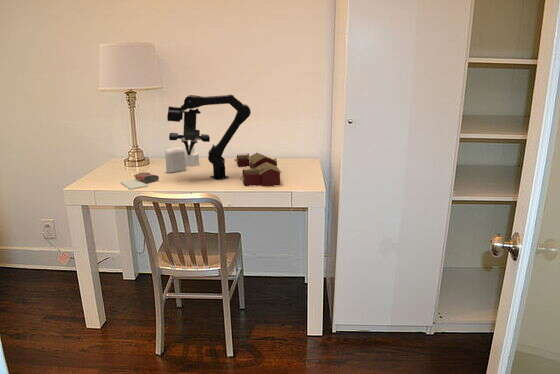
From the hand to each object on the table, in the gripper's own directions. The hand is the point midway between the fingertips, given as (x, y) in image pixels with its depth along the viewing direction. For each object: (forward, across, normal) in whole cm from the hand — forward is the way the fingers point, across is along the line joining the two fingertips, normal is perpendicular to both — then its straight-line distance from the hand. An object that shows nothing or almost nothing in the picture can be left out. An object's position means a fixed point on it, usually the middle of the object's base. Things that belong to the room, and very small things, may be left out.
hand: (188, 155), depth 226 cm
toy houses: (+9, +34, +2) cm, 35 cm away
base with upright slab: (+11, +2, +29) cm, 31 cm away
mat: (+14, -25, -2) cm, 29 cm away
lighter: (+12, -17, -1) cm, 21 cm away
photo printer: (+12, -5, +17) cm, 22 cm away
